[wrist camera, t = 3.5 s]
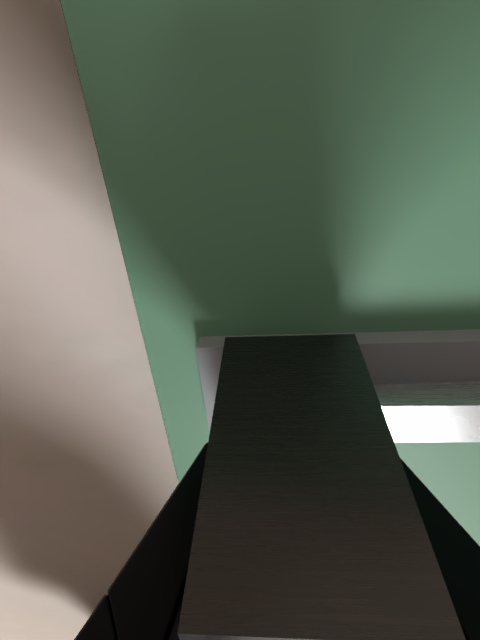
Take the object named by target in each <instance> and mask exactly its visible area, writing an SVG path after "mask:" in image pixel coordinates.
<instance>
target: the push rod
mask: <svg viewBox="0 0 480 640" xmlns="http://www.w3.org/2000/svg"><path fill="white" fill-rule="evenodd" d="M394 442H480V381H476V382H409V383H373V382H372V380H371V377H370V374H369V371H368V369H367V366H366V363H365V360H364V358H363V355H362V352H361V349H360V347H359V344H358V341H357V338H356V336H355V334H330V335H292V336H253V337H225V341H224V348H223V354H222V360H221V366H220V372H219V379H218V385H217V391H216V397H215V403H214V410H213V416H212V422H211V428H210V434H209V441H208V447H207V453H206V459H205V465H204V472H203V478H202V484H201V490H200V496H199V503H198V509H197V515H196V521H195V527H194V534H193V540H192V546H191V552H190V558H189V565H188V571H187V577H186V583H185V589H184V596H183V602H182V608H181V614H180V621H179V627H178V633H177V634H178V637H179V640H466V639H465V636H464V633H463V631H462V628H461V625H460V622H459V620H458V617H457V614H456V611H455V609H454V606H453V603H452V600H451V597H450V595H449V592H448V589H447V586H446V584H445V581H444V578H443V575H442V573H441V570H440V567H439V564H438V562H437V559H436V556H435V553H434V551H433V548H432V545H431V542H430V540H429V537H428V534H427V531H426V529H425V526H424V523H423V520H422V518H421V515H420V512H419V509H418V507H417V504H416V501H415V498H414V495H413V493H412V490H411V487H410V484H409V482H408V479H407V476H406V473H405V471H404V468H403V465H402V462H401V460H400V457H399V454H398V451H397V449H396V446H395V443H394Z"/></svg>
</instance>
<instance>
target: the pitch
mask: <svg viewBox="0 0 480 640" xmlns="http://www.w3.org/2000/svg"><path fill="white" fill-rule="evenodd" d="M60 1H61V5H62V9H63V13H64V18H65V22H66V26H67V30H68V34H69V38H70V42H71V46H72V50H73V54H74V58H75V62H76V66H77V70H78V75H79V79H80V83H81V87H82V91H83V95H84V99H85V103H86V107H87V111H88V115H89V119H90V123H91V128H92V132H93V136H94V140H95V144H96V148H97V152H98V156H99V160H100V164H101V168H102V172H103V176H104V180H105V185H106V189H107V193H108V197H109V201H110V205H111V209H112V213H113V217H114V221H115V225H116V229H117V233H118V237H119V242H120V246H121V250H122V254H123V258H124V262H125V266H126V270H127V274H128V278H129V282H130V286H131V290H132V294H133V299H134V303H135V307H136V311H137V315H138V319H139V323H140V327H141V331H142V335H143V339H144V343H145V347H146V352H147V356H148V360H149V364H150V368H151V372H152V376H153V380H154V384H155V388H156V392H157V396H158V400H159V404H160V409H161V413H162V417H163V421H164V425H165V429H166V433H167V437H168V441H169V445H170V449H171V453H172V457H173V461H174V466H175V470H176V474H177V478H178V482H180V481H181V479H182V478H183V476H184V475H185V473H186V472H187V470H188V469H189V467H190V466H191V464H192V463H193V461H194V460H195V458H196V457H197V455H198V454H199V452H200V451H201V449H202V448H203V446H204V445H205V444H206V443H207V442H208V441H209V434H210V428H211V422H212V416H213V410H214V403H215V397H216V391H217V385H218V379H219V372H220V366H221V360H222V354H223V348H224V341H225V337H253V336H292V335H330V334H355V336H356V338H357V341H358V344H359V347H360V349H361V352H362V355H363V358H364V360H365V363H366V366H367V369H368V371H369V374H370V377H371V380H372V382H373V383H409V382H476V381H480V0H60ZM394 443H395V446H396V449H397V451H398V454H399V457H400V458H401V459H402V460H403V461H404V462H405V464H406V465H407V466H408V467H409V468H410V469H411V470H412V471H413V472H414V474H415V475H416V476H417V477H418V478H419V479H420V480H421V481H422V482H423V484H424V485H425V486H426V487H427V488H428V489H429V490H430V491H431V492H432V494H433V495H434V496H435V497H436V498H437V499H438V500H439V501H440V502H441V504H442V505H443V506H444V507H445V508H446V509H447V510H448V511H449V512H450V514H451V515H452V516H453V517H454V518H455V519H456V520H457V521H458V522H459V524H460V525H461V526H462V527H463V528H464V529H465V530H466V531H467V533H468V534H469V535H470V536H471V537H472V538H473V539H474V540H475V541H476V543H477V544H478V545H479V546H480V442H394Z"/></svg>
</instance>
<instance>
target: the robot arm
mask: <svg viewBox="0 0 480 640" xmlns="http://www.w3.org/2000/svg"><path fill="white" fill-rule="evenodd" d="M207 447H208V442H207V443H206V444H205V445H204V446H203V448H202V449H201V451H200V452H199V454H198V455H197V457H196V458H195V460H194V461H193V463H192V464H191V466H190V467H189V469H188V470H187V472H186V473H185V475H184V476H183V478H182V479H181V481H180V482H179V484H178V485H177V487H176V488H175V490H174V491H173V493H172V494H171V496H170V497H169V499H168V501H167V502H166V504H165V505H164V507H163V508H162V510H161V511H160V513H159V514H158V516H157V517H156V519H155V520H154V522H153V523H152V525H151V526H150V528H149V529H148V531H147V532H146V534H145V535H144V537H143V538H142V540H141V541H140V543H139V544H138V546H137V547H136V549H135V550H134V552H133V553H132V555H131V556H130V558H129V559H128V561H127V562H126V564H125V565H124V567H123V568H122V570H121V571H120V573H119V574H118V576H117V577H116V579H115V580H114V582H113V583H112V585H111V586H110V588H109V589H108V592H107V593H108V595H104V596H103V598H102V599H101V601H100V602H99V604H98V606H97V607H96V609H95V610H94V612H93V613H92V615H91V616H90V618H89V619H88V620H87V622H86V623H85V625H84V626H83V628H82V629H81V630H80V632H79V633H78V635H77V636H76V638H75V639H74V640H179V637H178V634H177V633H178V627H179V621H180V614H181V608H182V602H183V596H184V589H185V583H186V577H187V571H188V565H189V558H190V552H191V546H192V540H193V534H194V527H195V521H196V515H197V509H198V503H199V496H200V490H201V484H202V478H203V472H204V465H205V459H206V453H207ZM400 460H401V462H402V465H403V468H404V471H405V473H406V476H407V479H408V482H409V484H410V487H411V490H412V493H413V495H414V498H415V501H416V504H417V507H418V509H419V512H420V515H421V518H422V520H423V523H424V526H425V529H426V531H427V534H428V537H429V540H430V542H431V545H432V548H433V551H434V553H435V556H436V559H437V562H438V564H439V567H440V570H441V573H442V575H443V578H444V581H445V584H446V586H447V589H448V592H449V595H450V597H451V600H452V603H453V606H454V609H455V611H456V614H457V617H458V620H459V622H460V625H461V628H462V631H463V633H464V636H465V639H466V640H480V546H479V545H478V544H477V543H476V541H475V540H474V539H473V538H472V537H471V536H470V535H469V534H468V533H467V531H466V530H465V529H464V528H463V527H462V526H461V525H460V524H459V522H458V521H457V520H456V519H455V518H454V517H453V516H452V515H451V514H450V512H449V511H448V510H447V509H446V508H445V507H444V506H443V505H442V504H441V502H440V501H439V500H438V499H437V498H436V497H435V496H434V495H433V494H432V492H431V491H430V490H429V489H428V488H427V487H426V486H425V485H424V484H423V482H422V481H421V480H420V479H419V478H418V477H417V476H416V475H415V474H414V472H413V471H412V470H411V469H410V468H409V467H408V466H407V465H406V464H405V462H404V461H403V460H402V459H401V458H400Z"/></svg>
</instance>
